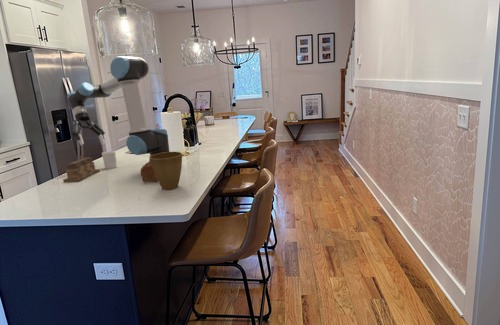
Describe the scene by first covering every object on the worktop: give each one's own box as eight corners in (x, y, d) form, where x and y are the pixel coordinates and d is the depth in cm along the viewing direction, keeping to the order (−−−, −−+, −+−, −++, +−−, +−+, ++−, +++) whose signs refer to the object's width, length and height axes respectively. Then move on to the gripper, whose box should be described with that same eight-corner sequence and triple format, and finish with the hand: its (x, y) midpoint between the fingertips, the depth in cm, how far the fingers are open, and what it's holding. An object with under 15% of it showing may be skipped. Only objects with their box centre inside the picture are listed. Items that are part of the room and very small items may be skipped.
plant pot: (151, 186, 162) (147, 154, 159) (182, 181, 168) (178, 150, 164) (156, 194, 149) (151, 160, 145) (188, 188, 154) (185, 155, 151)
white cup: (106, 166, 214) (104, 151, 212) (119, 165, 215) (116, 150, 212) (102, 169, 207) (99, 153, 204) (115, 168, 207) (112, 152, 205)
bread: (160, 182, 169) (158, 163, 167) (141, 183, 171) (138, 164, 168) (173, 172, 187) (171, 155, 185) (155, 173, 189) (153, 156, 186)
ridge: (85, 172, 203) (82, 156, 201) (99, 171, 202) (97, 156, 200) (63, 182, 181) (60, 165, 179) (79, 181, 181) (76, 164, 178)
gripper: (97, 119, 216) (108, 147, 211) (57, 117, 195) (69, 148, 190) (102, 113, 213) (114, 141, 208) (63, 109, 192) (75, 140, 187)
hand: (93, 144), depth 199 cm, fingers open, 13 cm apart
